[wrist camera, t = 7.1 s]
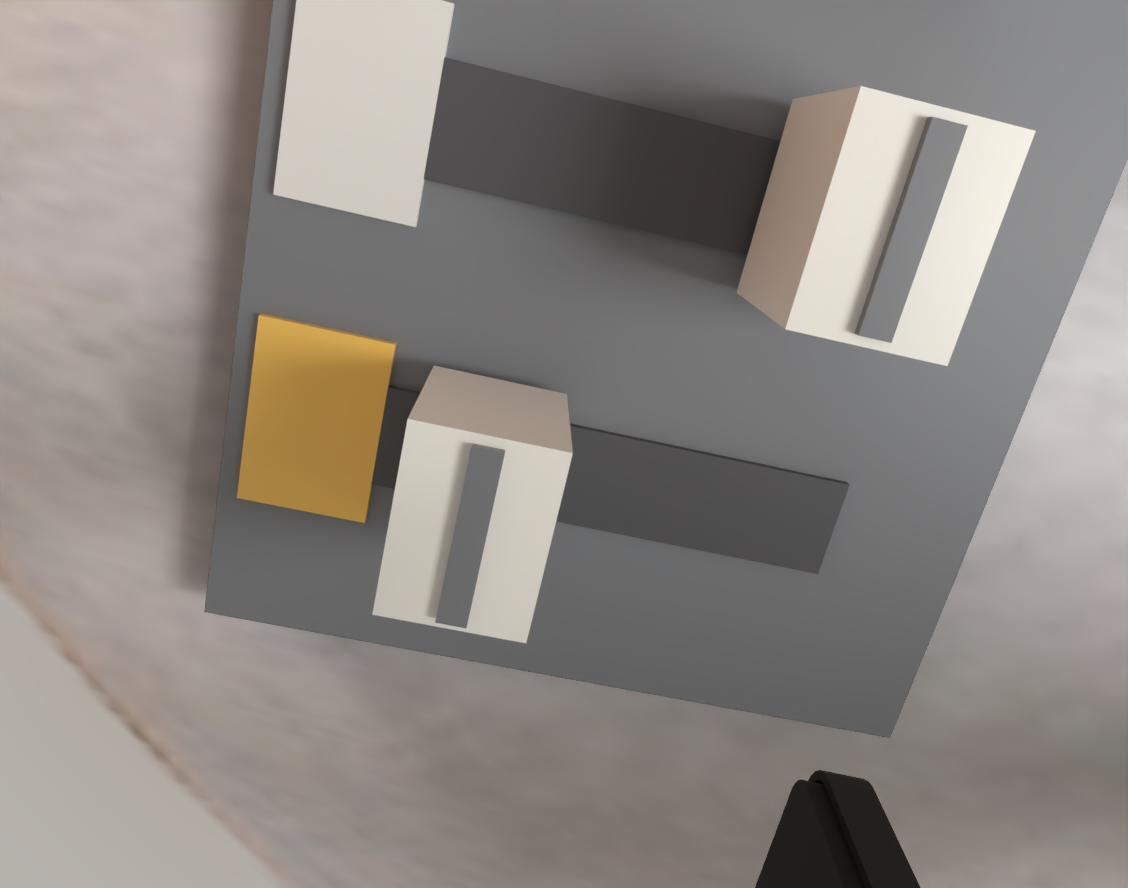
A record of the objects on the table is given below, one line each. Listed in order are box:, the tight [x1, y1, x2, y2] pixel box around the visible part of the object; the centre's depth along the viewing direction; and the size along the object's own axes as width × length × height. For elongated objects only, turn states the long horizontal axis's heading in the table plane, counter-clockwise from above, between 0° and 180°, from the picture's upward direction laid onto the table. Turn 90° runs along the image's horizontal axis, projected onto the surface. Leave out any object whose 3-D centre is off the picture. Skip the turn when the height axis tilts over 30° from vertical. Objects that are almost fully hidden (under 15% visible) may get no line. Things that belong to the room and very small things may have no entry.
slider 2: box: [737, 86, 1036, 366], centre depth 16 cm, size 4×3×4 cm
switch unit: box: [205, 0, 1128, 738], centre depth 19 cm, size 25×18×1 cm
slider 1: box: [372, 365, 573, 643], centre depth 18 cm, size 4×3×4 cm
